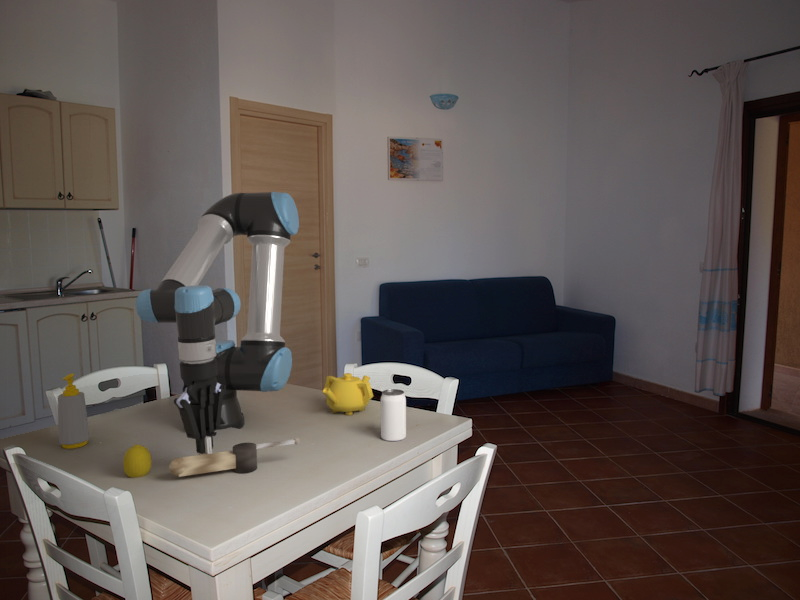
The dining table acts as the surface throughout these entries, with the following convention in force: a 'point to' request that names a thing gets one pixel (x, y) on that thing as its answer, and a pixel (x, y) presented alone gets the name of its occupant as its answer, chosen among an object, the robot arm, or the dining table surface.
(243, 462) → the tan long two-tone device
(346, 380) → the teapot
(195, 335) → the robot arm
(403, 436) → the can
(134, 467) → the lemon
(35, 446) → the dining table surface
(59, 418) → the soap bottle
